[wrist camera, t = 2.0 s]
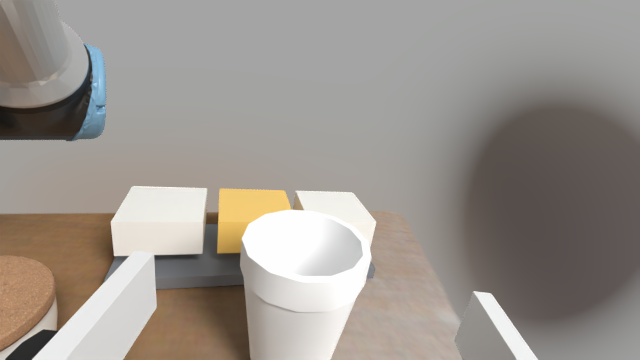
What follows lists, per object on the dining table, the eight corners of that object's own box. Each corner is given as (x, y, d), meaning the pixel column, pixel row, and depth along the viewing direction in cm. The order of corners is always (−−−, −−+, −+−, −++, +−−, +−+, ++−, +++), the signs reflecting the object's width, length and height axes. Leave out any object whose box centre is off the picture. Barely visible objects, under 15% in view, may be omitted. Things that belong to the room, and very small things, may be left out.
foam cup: (229, 427, 24) (239, 282, 19) (235, 325, 32) (243, 207, 27) (353, 414, 26) (391, 281, 21) (329, 322, 34) (352, 212, 29)
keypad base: (105, 292, 34) (104, 280, 33) (132, 234, 43) (131, 224, 43) (372, 277, 42) (375, 268, 42) (345, 232, 52) (347, 223, 51)
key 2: (114, 256, 34) (110, 221, 32) (134, 215, 41) (132, 186, 40) (202, 253, 36) (203, 221, 35) (206, 215, 44) (207, 188, 42)
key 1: (304, 251, 39) (309, 222, 38) (292, 216, 47) (295, 190, 45) (369, 249, 42) (376, 222, 40) (347, 216, 49) (352, 192, 48)
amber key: (217, 253, 36) (218, 221, 35) (218, 215, 44) (219, 188, 42) (292, 251, 39) (296, 222, 37) (281, 216, 46) (284, 190, 45)
